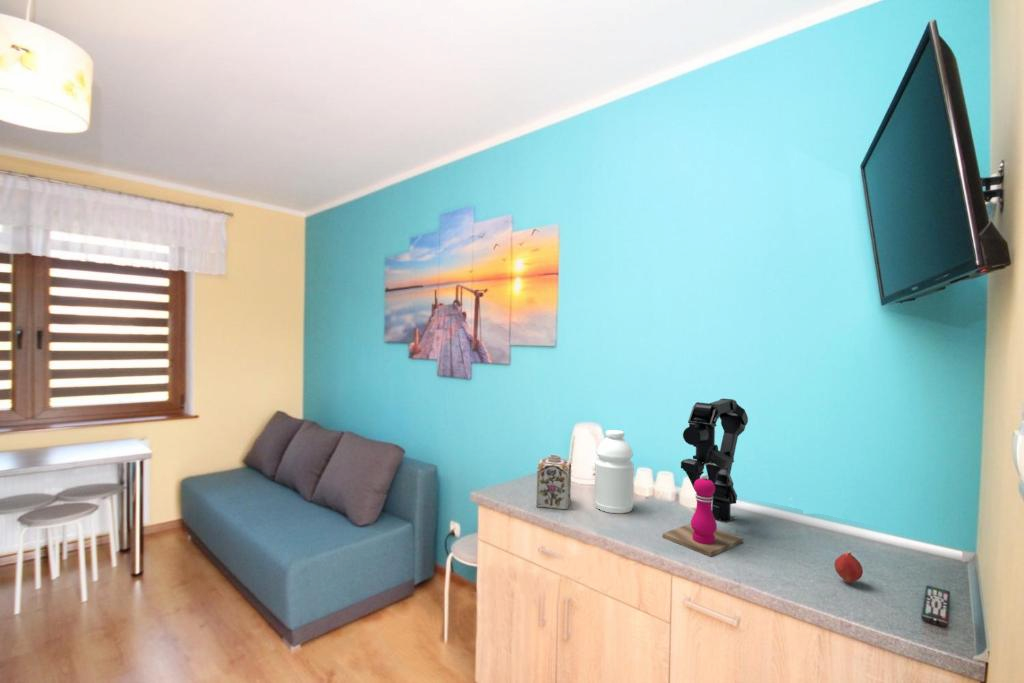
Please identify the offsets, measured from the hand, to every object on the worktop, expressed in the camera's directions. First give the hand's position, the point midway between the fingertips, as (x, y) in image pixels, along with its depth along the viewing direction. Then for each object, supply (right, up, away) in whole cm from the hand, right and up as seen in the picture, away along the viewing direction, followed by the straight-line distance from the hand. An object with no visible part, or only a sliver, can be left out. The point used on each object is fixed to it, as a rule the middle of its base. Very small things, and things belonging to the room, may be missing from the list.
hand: (704, 488), depth 152 cm
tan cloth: (-5, -13, -9) cm, 17 cm away
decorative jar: (-48, -13, +21) cm, 54 cm away
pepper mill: (-6, -12, -13) cm, 18 cm away
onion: (+22, -13, -35) cm, 43 cm away
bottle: (-26, -13, +18) cm, 34 cm away
